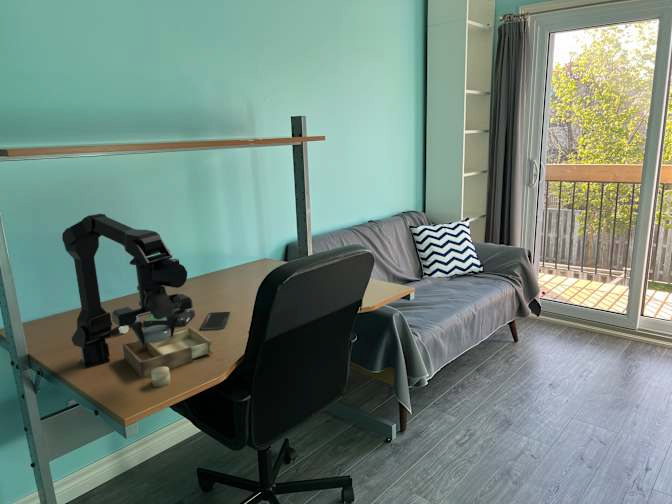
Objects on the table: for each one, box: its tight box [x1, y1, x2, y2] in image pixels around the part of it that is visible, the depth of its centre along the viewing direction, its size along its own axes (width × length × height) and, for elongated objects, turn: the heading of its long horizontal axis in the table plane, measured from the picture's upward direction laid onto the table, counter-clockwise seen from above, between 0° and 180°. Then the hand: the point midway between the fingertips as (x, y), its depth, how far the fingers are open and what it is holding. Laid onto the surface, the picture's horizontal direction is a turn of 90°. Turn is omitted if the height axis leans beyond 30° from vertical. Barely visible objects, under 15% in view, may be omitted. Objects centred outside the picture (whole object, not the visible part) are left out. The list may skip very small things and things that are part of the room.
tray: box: [147, 326, 213, 359], centre depth 147 cm, size 15×15×4 cm
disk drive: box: [142, 309, 196, 328], centre depth 174 cm, size 10×3×15 cm
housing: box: [122, 339, 194, 379], centre depth 143 cm, size 14×16×4 cm
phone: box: [200, 311, 231, 331], centre depth 172 cm, size 8×1×15 cm
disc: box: [142, 325, 171, 343], centre depth 128 cm, size 7×7×2 cm
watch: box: [110, 325, 132, 337], centre depth 165 cm, size 8×5×4 cm, turn 158°
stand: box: [151, 366, 171, 388], centre depth 130 cm, size 4×4×4 cm
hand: (157, 340), depth 128 cm, fingers closed on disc, 7 cm apart
